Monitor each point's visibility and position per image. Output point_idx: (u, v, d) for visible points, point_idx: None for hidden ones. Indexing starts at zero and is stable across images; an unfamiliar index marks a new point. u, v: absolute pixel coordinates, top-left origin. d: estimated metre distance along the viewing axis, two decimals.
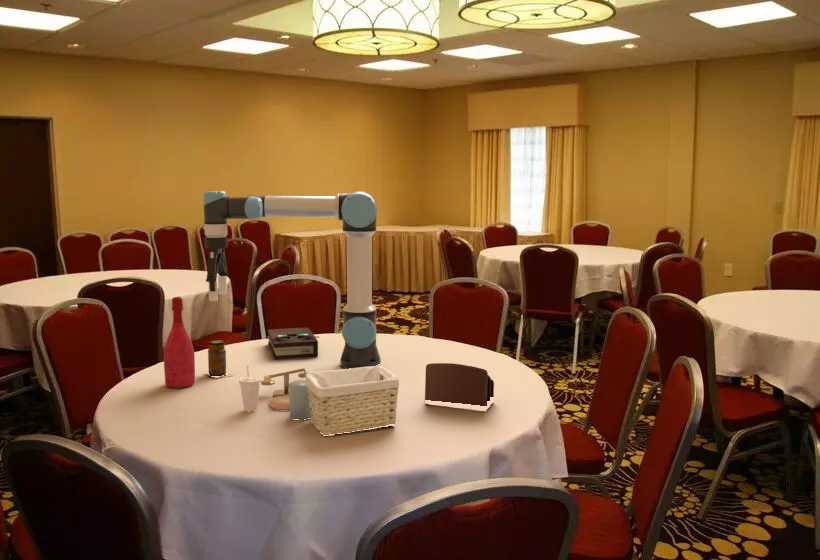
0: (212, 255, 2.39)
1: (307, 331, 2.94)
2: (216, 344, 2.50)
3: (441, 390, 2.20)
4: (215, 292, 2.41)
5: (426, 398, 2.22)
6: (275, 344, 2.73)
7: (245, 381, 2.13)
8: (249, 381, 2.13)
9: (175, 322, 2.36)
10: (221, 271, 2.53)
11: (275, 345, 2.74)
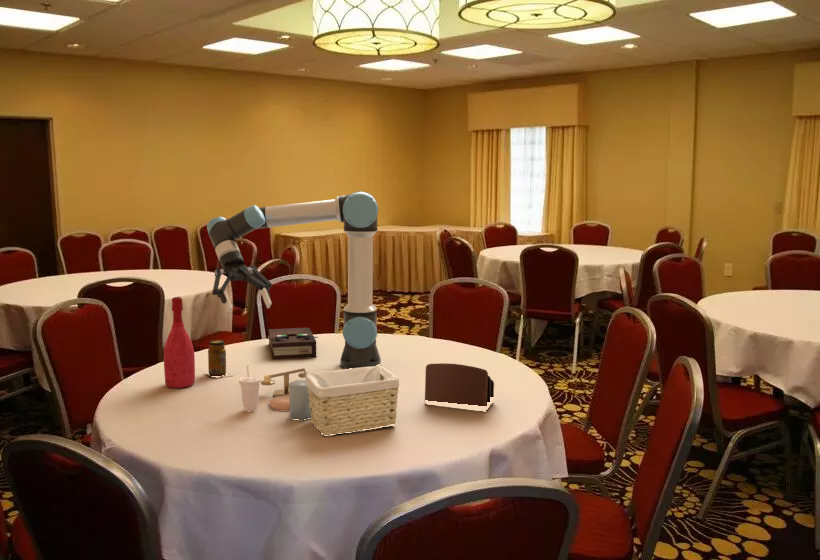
0: (216, 272, 2.34)
1: (307, 331, 2.94)
2: (216, 344, 2.50)
3: (441, 390, 2.20)
4: (227, 301, 2.27)
5: (426, 399, 2.22)
6: (273, 344, 2.74)
7: (245, 381, 2.13)
8: (249, 381, 2.13)
9: (175, 322, 2.36)
10: (259, 286, 2.38)
11: (273, 345, 2.74)
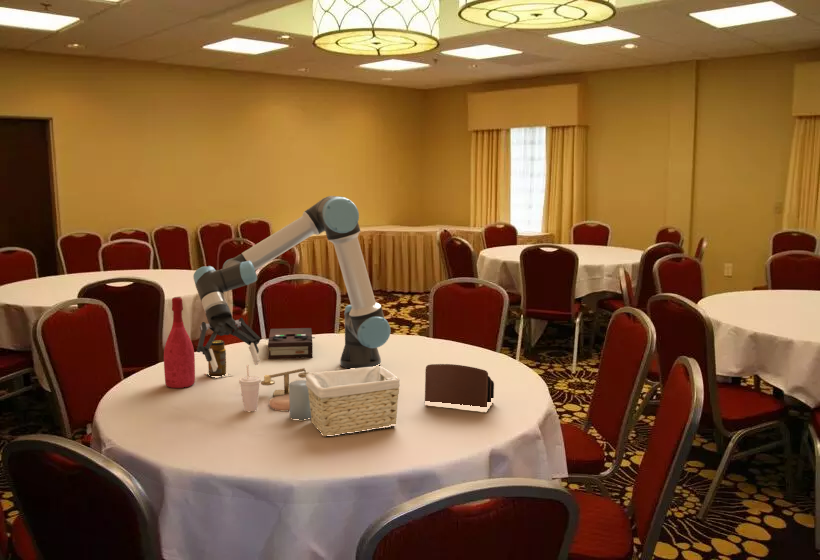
0: (201, 326, 2.22)
1: (308, 331, 2.94)
2: (216, 344, 2.50)
3: (442, 391, 2.19)
4: (212, 359, 2.15)
5: (426, 400, 2.21)
6: (269, 344, 2.74)
7: (245, 381, 2.13)
8: (249, 381, 2.13)
9: (175, 322, 2.36)
10: (246, 340, 2.26)
11: (269, 345, 2.74)
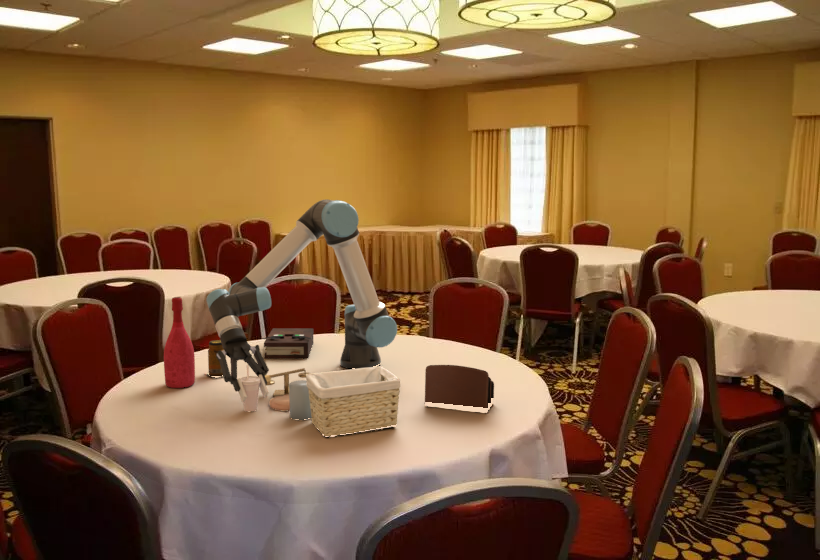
0: (218, 355, 2.16)
1: (308, 332, 2.93)
2: (216, 344, 2.50)
3: (442, 392, 2.18)
4: (241, 389, 2.11)
5: (426, 400, 2.20)
6: (265, 343, 2.75)
7: (245, 381, 2.13)
8: (249, 381, 2.13)
9: (175, 322, 2.36)
10: (255, 370, 2.19)
11: (265, 344, 2.75)
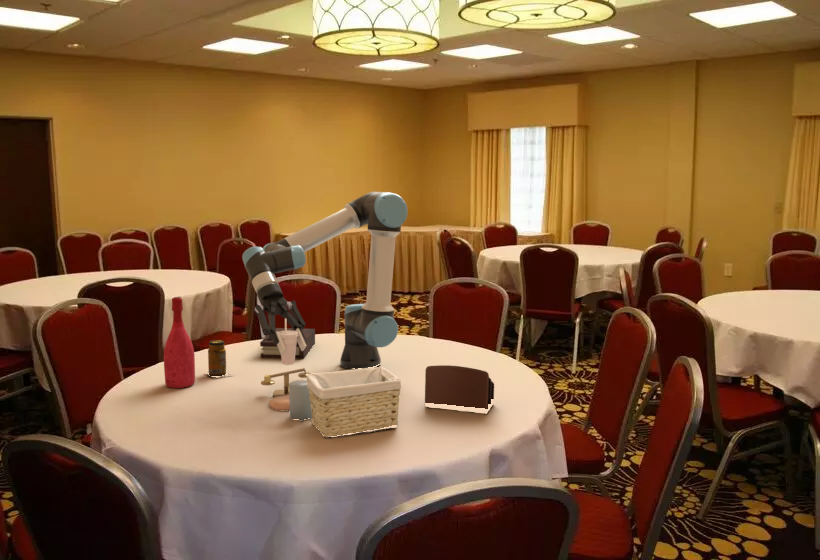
0: (256, 310, 2.19)
1: (308, 332, 2.92)
2: (216, 344, 2.50)
3: (442, 392, 2.18)
4: (279, 342, 2.15)
5: (426, 401, 2.20)
6: (261, 343, 2.75)
7: (283, 334, 2.16)
8: (287, 334, 2.16)
9: (175, 322, 2.36)
10: (292, 324, 2.22)
11: (261, 344, 2.75)
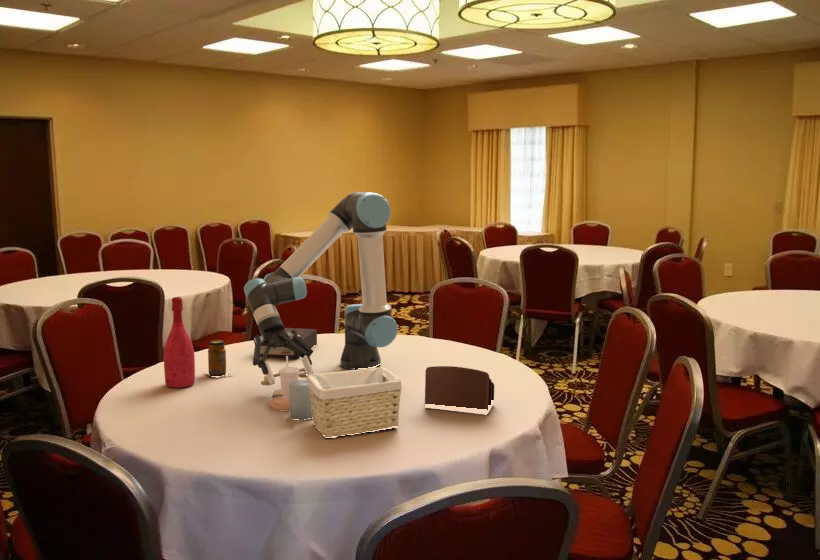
0: (255, 339, 2.21)
1: (308, 333, 2.91)
2: (216, 344, 2.50)
3: (442, 393, 2.17)
4: (269, 373, 2.15)
5: (426, 402, 2.19)
6: None
7: (285, 371, 2.18)
8: (289, 371, 2.18)
9: (175, 322, 2.36)
10: (299, 353, 2.26)
11: None
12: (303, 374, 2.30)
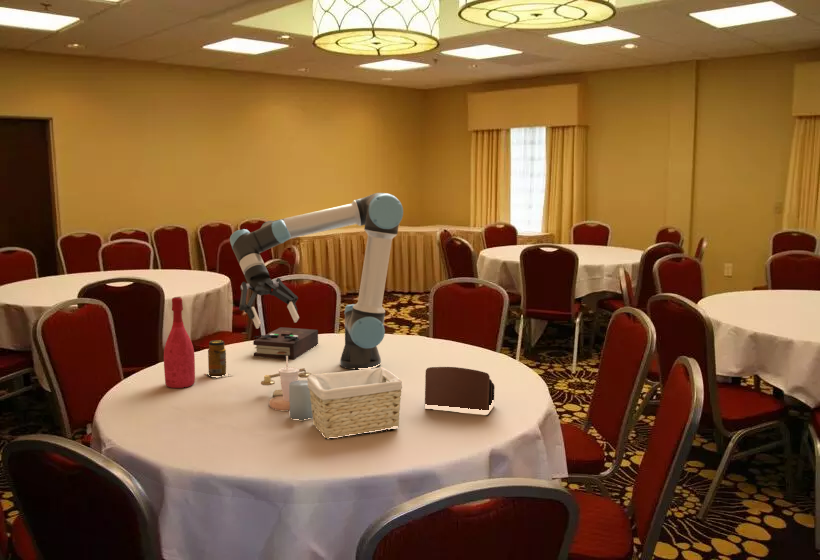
0: (241, 286, 2.29)
1: (307, 333, 2.91)
2: (216, 344, 2.50)
3: (442, 394, 2.16)
4: (255, 317, 2.23)
5: (426, 403, 2.18)
6: (254, 341, 2.78)
7: (285, 371, 2.18)
8: (289, 371, 2.18)
9: (175, 322, 2.36)
10: (285, 299, 2.34)
11: (254, 342, 2.78)
12: (303, 374, 2.30)
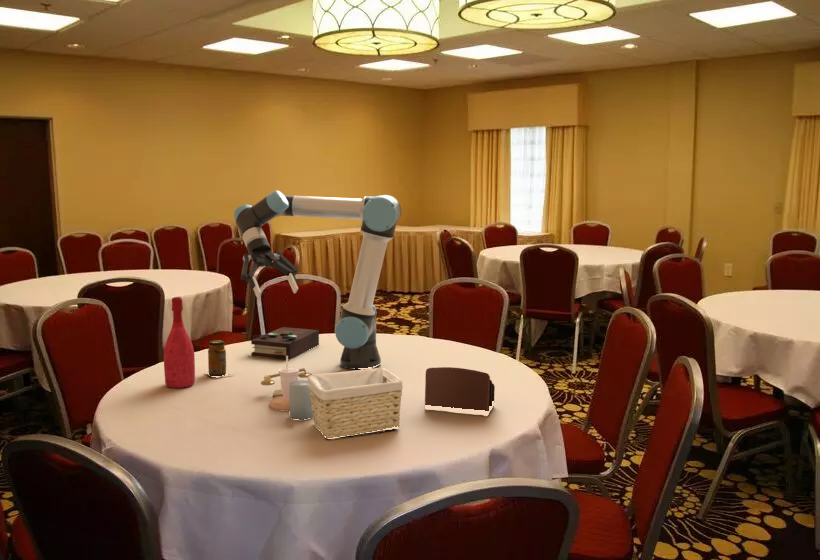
0: (243, 257, 2.39)
1: (307, 333, 2.90)
2: (216, 344, 2.50)
3: (442, 395, 2.16)
4: (255, 286, 2.33)
5: (426, 404, 2.17)
6: (252, 341, 2.78)
7: (285, 371, 2.18)
8: (289, 371, 2.18)
9: (175, 322, 2.36)
10: (285, 271, 2.44)
11: (252, 342, 2.78)
12: (303, 374, 2.30)
